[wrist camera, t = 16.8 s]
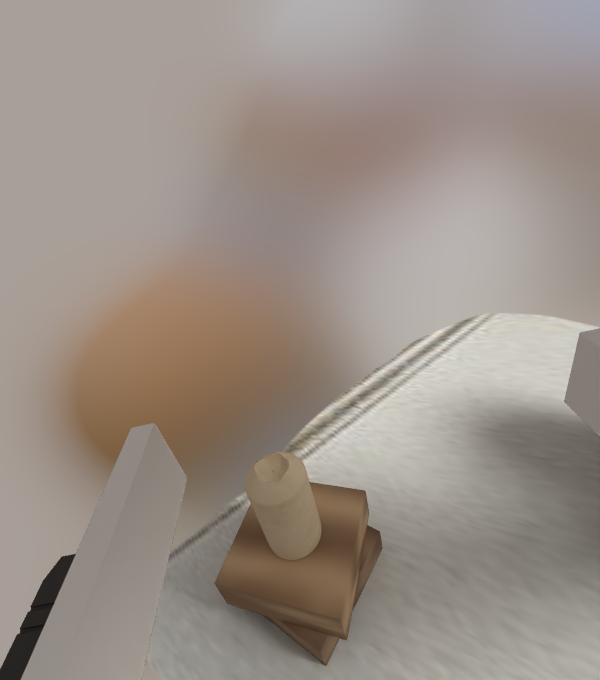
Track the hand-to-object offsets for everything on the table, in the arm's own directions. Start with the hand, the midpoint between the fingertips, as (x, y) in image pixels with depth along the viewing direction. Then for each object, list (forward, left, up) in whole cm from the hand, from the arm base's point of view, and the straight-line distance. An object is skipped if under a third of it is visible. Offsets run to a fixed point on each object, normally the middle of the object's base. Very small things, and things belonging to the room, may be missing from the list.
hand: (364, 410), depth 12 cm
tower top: (-5, -14, -31) cm, 34 cm away
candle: (-5, -14, -27) cm, 30 cm away
